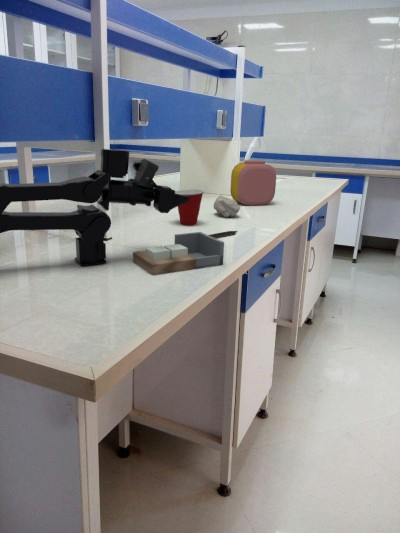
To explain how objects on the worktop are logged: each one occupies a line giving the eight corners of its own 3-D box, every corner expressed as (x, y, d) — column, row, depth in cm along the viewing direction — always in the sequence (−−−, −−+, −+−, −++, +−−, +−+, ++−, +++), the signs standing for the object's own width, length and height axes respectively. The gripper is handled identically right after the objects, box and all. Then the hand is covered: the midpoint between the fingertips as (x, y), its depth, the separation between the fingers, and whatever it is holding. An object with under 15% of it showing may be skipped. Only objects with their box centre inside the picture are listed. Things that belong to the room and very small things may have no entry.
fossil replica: (223, 212, 185) (207, 217, 178) (221, 192, 182) (205, 196, 175) (246, 215, 176) (230, 220, 170) (245, 194, 174) (229, 198, 167)
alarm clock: (264, 201, 214) (268, 159, 208) (275, 205, 204) (279, 162, 198) (228, 202, 208) (231, 159, 202) (238, 206, 198) (240, 161, 192)
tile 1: (153, 260, 109) (153, 252, 108) (145, 255, 113) (145, 247, 112) (170, 258, 111) (170, 250, 111) (162, 253, 115) (162, 246, 114)
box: (196, 268, 112) (197, 245, 110) (174, 255, 122) (174, 234, 120) (223, 264, 116) (224, 242, 114) (199, 252, 126) (200, 231, 124)
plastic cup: (175, 219, 167) (176, 187, 163) (204, 221, 166) (205, 188, 162) (170, 226, 156) (170, 191, 153) (201, 228, 155) (202, 193, 152)
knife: (234, 232, 153) (234, 228, 152) (247, 236, 148) (247, 232, 147) (172, 241, 138) (172, 237, 138) (184, 246, 133) (184, 242, 133)
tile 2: (171, 258, 112) (171, 250, 111) (163, 253, 115) (163, 245, 115) (187, 255, 114) (187, 248, 113) (179, 251, 117) (179, 244, 117)
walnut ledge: (152, 275, 106) (152, 265, 106) (133, 261, 116) (132, 252, 115) (196, 268, 112) (196, 258, 111) (174, 255, 122) (174, 247, 121)
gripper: (141, 164, 103) (201, 170, 111) (117, 155, 119) (171, 160, 126) (136, 212, 107) (195, 214, 114) (114, 196, 122) (167, 199, 129)
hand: (181, 195), depth 121 cm, fingers open, 9 cm apart
